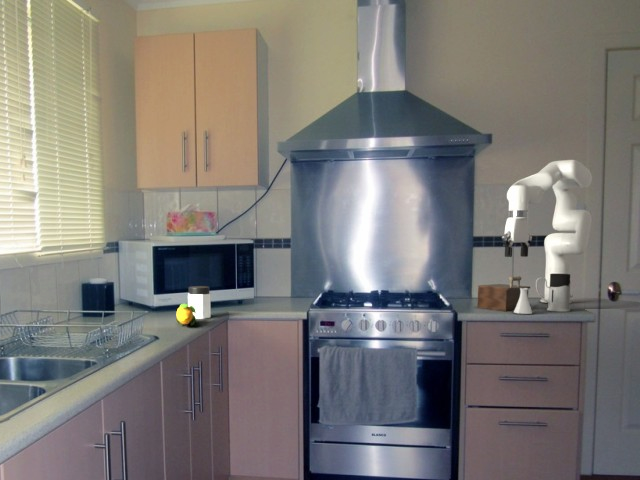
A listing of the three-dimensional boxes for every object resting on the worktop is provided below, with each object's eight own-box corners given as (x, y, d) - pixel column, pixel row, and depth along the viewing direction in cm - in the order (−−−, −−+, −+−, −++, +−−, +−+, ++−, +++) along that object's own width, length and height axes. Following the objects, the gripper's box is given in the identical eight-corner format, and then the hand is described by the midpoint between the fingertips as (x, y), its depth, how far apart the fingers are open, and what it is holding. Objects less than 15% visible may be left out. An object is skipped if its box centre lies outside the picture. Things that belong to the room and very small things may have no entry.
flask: (529, 312, 267) (530, 287, 266) (535, 314, 260) (536, 289, 259) (510, 312, 268) (511, 287, 267) (516, 314, 260) (517, 289, 259)
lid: (530, 288, 275) (530, 276, 274) (508, 290, 268) (508, 277, 268) (499, 285, 288) (500, 273, 288) (478, 287, 282) (478, 275, 281)
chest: (527, 309, 277) (528, 288, 276) (505, 311, 270) (506, 290, 269) (499, 305, 289) (499, 285, 288) (477, 307, 283) (478, 287, 282)
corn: (194, 300, 247) (196, 306, 227) (196, 320, 248) (198, 328, 228) (175, 302, 246) (174, 308, 227) (176, 322, 247) (176, 330, 227)
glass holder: (574, 311, 268) (576, 274, 266) (539, 311, 268) (541, 275, 266) (564, 308, 277) (565, 273, 275) (530, 309, 277) (531, 273, 275)
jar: (199, 315, 264) (199, 285, 262) (214, 317, 258) (214, 286, 257) (183, 317, 257) (183, 287, 255) (199, 319, 252) (198, 288, 250)
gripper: (524, 215, 279) (522, 256, 280) (496, 215, 270) (494, 256, 272) (539, 215, 272) (537, 256, 274) (511, 214, 264) (509, 257, 266)
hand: (516, 256), depth 273 cm, fingers open, 9 cm apart
